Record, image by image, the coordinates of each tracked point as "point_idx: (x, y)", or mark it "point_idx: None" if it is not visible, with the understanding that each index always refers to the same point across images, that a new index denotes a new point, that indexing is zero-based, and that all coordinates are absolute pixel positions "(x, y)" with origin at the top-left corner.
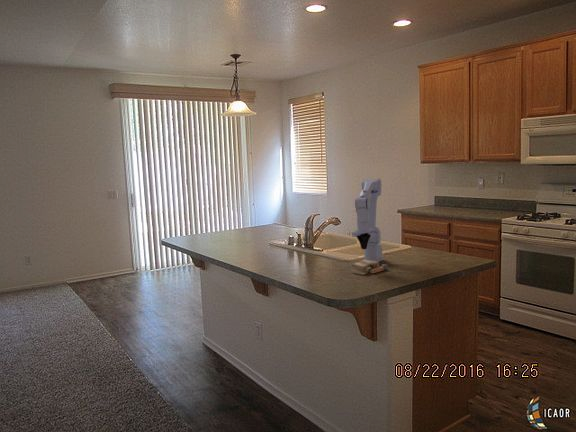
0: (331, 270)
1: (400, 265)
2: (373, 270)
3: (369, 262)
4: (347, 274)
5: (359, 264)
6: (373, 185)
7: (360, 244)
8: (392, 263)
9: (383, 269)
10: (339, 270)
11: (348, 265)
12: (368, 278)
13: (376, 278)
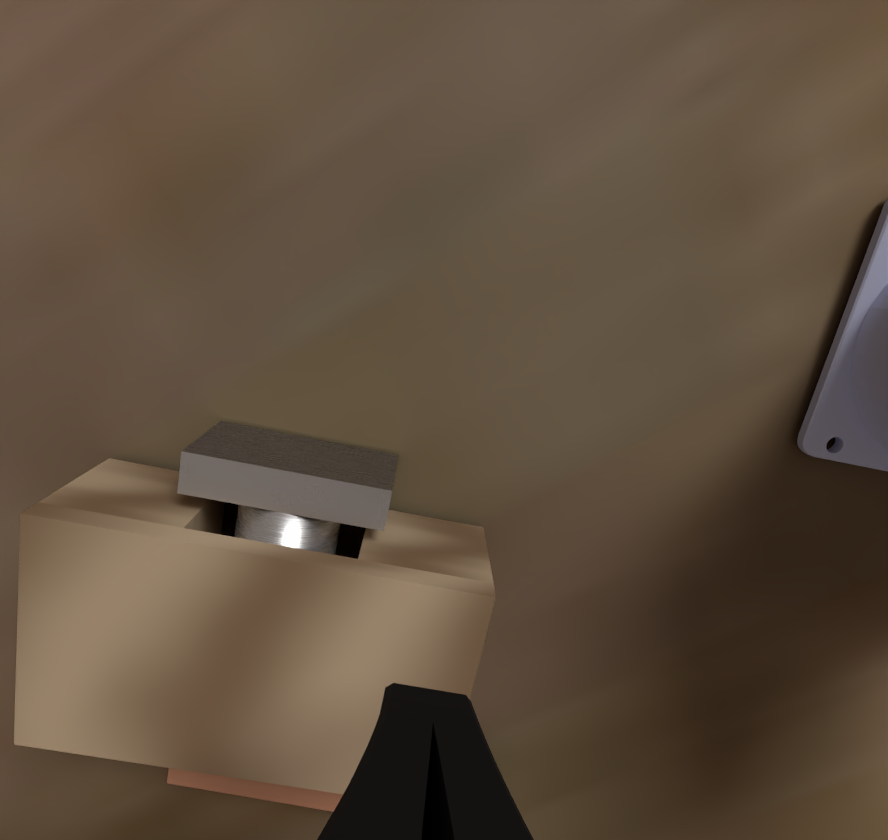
0: (62, 26)
1: (785, 808)
2: (185, 778)
3: (301, 719)
4: (8, 434)
5: (82, 645)
6: None
7: (351, 783)
8: (873, 686)
9: None
10: (143, 174)
11: (535, 125)
12: (10, 761)
13: (67, 831)
